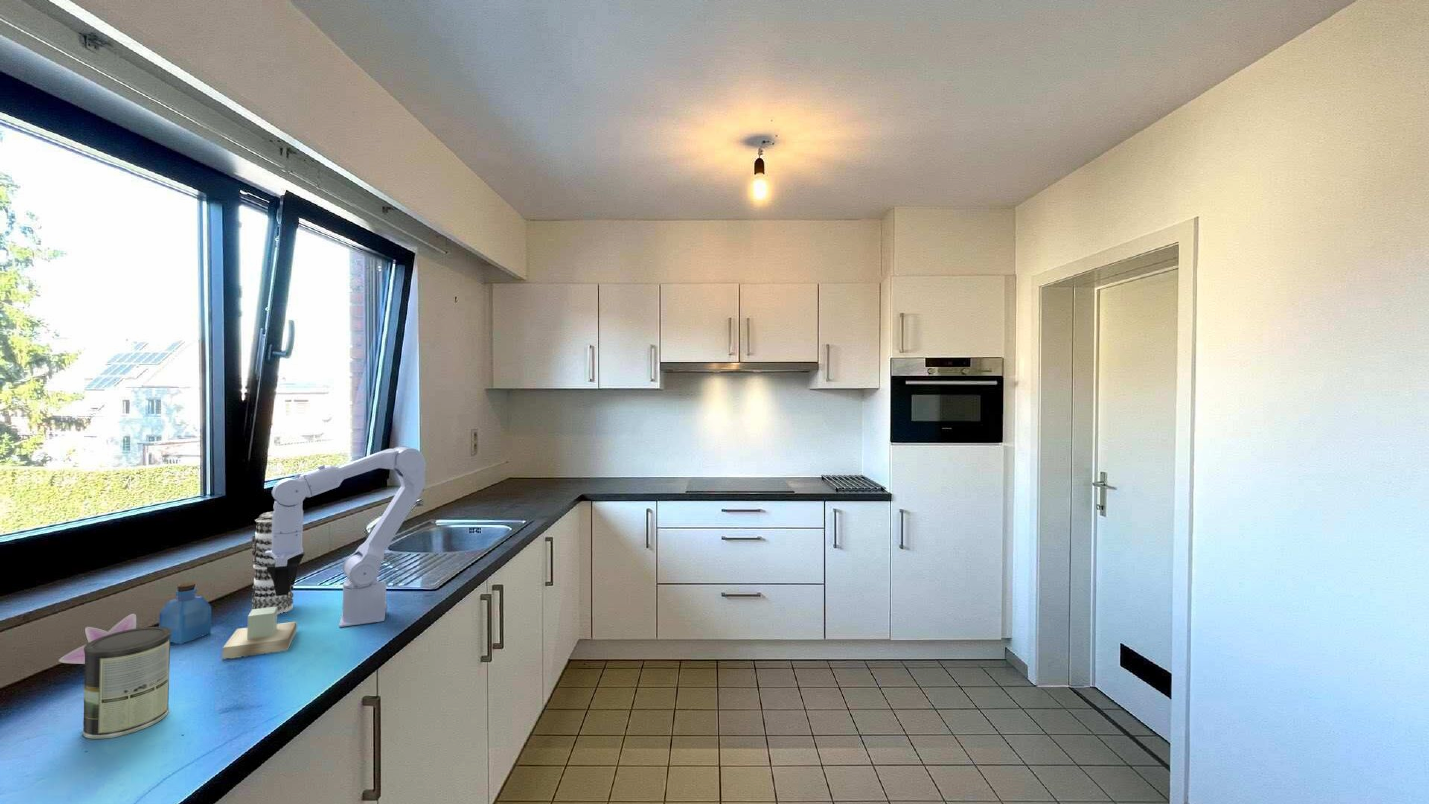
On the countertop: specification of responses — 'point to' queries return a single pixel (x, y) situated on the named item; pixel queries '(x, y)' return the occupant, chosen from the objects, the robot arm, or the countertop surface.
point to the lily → (95, 633)
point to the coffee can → (126, 682)
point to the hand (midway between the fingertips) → (285, 590)
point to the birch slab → (259, 642)
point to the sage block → (262, 622)
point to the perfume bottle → (186, 615)
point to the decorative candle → (263, 579)
